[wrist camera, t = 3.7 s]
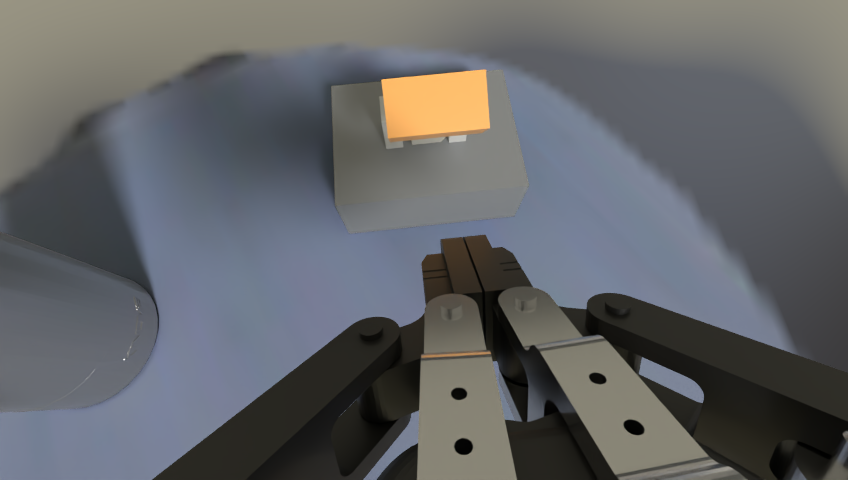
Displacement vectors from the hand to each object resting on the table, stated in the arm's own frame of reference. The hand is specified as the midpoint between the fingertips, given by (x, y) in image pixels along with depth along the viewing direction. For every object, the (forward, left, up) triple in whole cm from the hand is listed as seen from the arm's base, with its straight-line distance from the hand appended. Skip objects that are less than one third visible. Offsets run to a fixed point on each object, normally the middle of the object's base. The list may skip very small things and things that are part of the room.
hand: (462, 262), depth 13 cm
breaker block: (0, +13, -16) cm, 20 cm away
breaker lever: (0, +13, -11) cm, 17 cm away
